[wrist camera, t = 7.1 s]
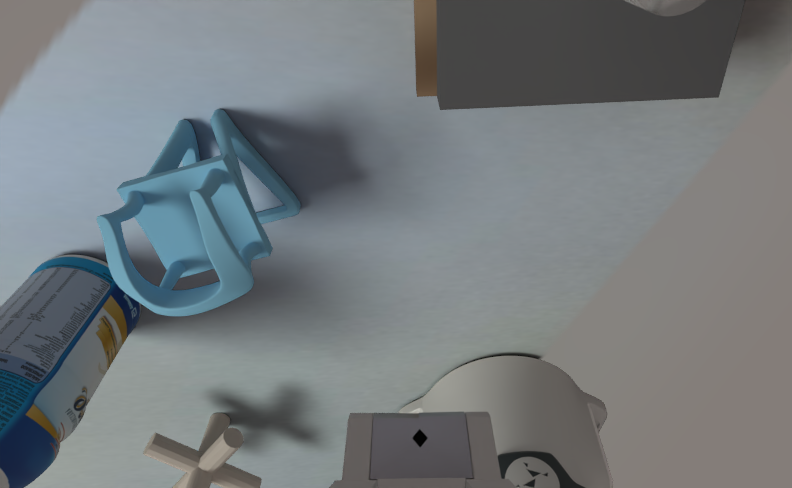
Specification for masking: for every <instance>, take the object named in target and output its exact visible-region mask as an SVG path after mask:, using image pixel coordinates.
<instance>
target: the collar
mask: <svg viewBox="0 0 792 488" xmlns="http://www.w3.org/2000/svg"><path fill="white" fill-rule="evenodd" d="M744 3H745V0H706V1H705V2H703V3H702V4H701V5H699V6H698V7H696V8H695V9H693V10H691V11H689V12H687V13H684V14H681V15H677V16H660V15H656V14H653V13H651V12H649V11H646V10H644V9H642V8H640V7H637V6H635V5H633V4H631V3H628V2H626V1H624V0H436V10H437V97H438V102H439V107H440V110H447V109H470V108H492V107H514V106H536V105H558V104H581V103H603V102H625V101H647V100H670V99H692V98H714V97H719V94H720V90H721V87H722V83H723V79H724V76H725V72H726V68H727V65H728V61H729V58H730V54H731V50H732V47H733V43H734V39H735V36H736V32H737V28H738V25H739V21H740V18H741V14H742V10H743V7H744Z"/></svg>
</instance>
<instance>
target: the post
mask: <svg viewBox="0 0 792 488" xmlns="http://www.w3.org/2000/svg"><path fill="white" fill-rule="evenodd" d="M624 1H626V2H628V3H631V4H633V5H635V6H637V7H640V8H642V9H644V10H646V11H649V12H651V13H653V14H656V15H660V16H677V15H681V14H684V13H687V12H689V11H691V10H693V9H695V8H696V7H698V6H699V5H701V4H702V3H703V2H705V1H706V0H624Z"/></svg>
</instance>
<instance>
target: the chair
mask: <svg viewBox="0 0 792 488" xmlns="http://www.w3.org/2000/svg"><path fill="white" fill-rule="evenodd" d="M211 126H212V129H213V132H214V135H215V137H216V140H217V143H218V146H219V149H220V153H221V155H220V156H216V157H213V158H209V159H206V160H202V161H200V156H199V149H198V144H197V139H196V135H195V132H194V129H193V127H192V125H191V123H190V122H189V121H187V120H180V121H179V122H178V124H177V126H176V128H175V130H174V131H173V133H172V135H171V136H170V138H169V140H168V142H167V143H166V145H165V147H164V148H163V150H162V152H161V153H160V155H159V157H158V158H157V160H156V161H155V163H154V165H153V166H152V168H151V169H150V171H149V172H148V173H147V175H146V176H145V177H141V178H137V179H134V180H130V181H126V182H123V183H122V184H121V185H120V186H119V187H118V188H117V191H118V192H119V194H120V196H121V197H122V199H123V201H124V202H125V205H124V206H123V207H122V208H120V209H119V210H117V211H114V212H112V213H109V214H105V215H100V216H98V217H97V222H98V225H99V228H100V230H101V233H102V237H103V241H104V246H105V252H106V257H107V262H108V266H109V270H110V272H111V275H112V277H113V279H114V281H115V282H116V284H117V285H118V286H119V287H120V288H121V289H122V290H123V291H124V292H125V293H126V294H128V295H129V296H130V297H132V298H133V299H135V300H136V301H138V302H139V303H141V304H142V305H144V306H145V307H147V308H148V309H149V310H151V311H153V312H154V313H157V314H160V315H166V316H189V315H195V314H199V313H202V312H206V311H209V310H211V309H214V308H217V307H219V306H221V305H224V304H226V303H228V302H230V301H232V300H234V299H236V298H238V297H240V296H242V295H244V294H246V293H247V292H248V291H250V290H251V289H252V287H253V285H254V279H253V276H252V271H251V260H255V259H259V258H263V257H267V256H270V254H271V251H272V249H273V248H272V246H271V243H270V241H269V239H268V237H267V235H266V233H265V231H264V229H263V227H262V226H261V224H264V223H268V222H272V221H276V220H279V219H283V218H287V217H291V216H295V215H297V214H298V213H299V211H300V207H301V206H300V202H299V200H298V198H297V197H296V196H295V194H294V193H293V192H292V190H291V189H290V188H289V187H288V186H287V185H286V184H285V182H284V181H283V180H282V179H281V178H280V177H279V176H278V174H277V173H276V172H275V171H274V170H273V169H272V168H271V167H270V165H269V164H268V163H267V162H266V161H265V160H264V159H263V158H262V157H261V155H260V154H259V153H258V152H257V151H256V150H255V149H254V148H253V146H252V145H251V144H250V143H249V142H248V141H247V139H246V138H245V137H244V136H243V135H242V133H241V132H240V131H239V130H238V128H237V127H236V126H235V124H234V123H233V122H232V120H231V119H230V118H229V116H228V115H227V113H226V112H225V111H224V110H221V109H217V110H215V112H214V114H213V116H212V118H211ZM236 156H237V157H238V158H239V159H240V160H241V161H242V162H243V163H244V164H245V165H246V166H247V167H248V168H249V169H250V170H251V171H252V172H253V173H254V174H255V175H256V176H257V177H258V178H259V179H260V180H261V181H262V182H263V183H264V184H265V185H266V186H267V187H268V188H269V189H270V190H271V191H272V192H273V193H274V194H275V195H276V196H277V197H278V198H279V199H280V201H281V202H282V203H283V204H284V206H280V207H277V208H273V209H269V210H265V211H261V212H257V213H256V212H255V210H254V207H253V205H252V202H251V200H250V197H249V194H248V191H247V188H246V185H245V182H244V179H243V176H242V173H241V169H240V166H239V163H238V160H237V157H236ZM181 161H182V162H183V167H180V168H178V166H179V164H180V162H181ZM133 217H135V219H136V220H137V222H138V223H139V225H140V226H141V227H142V229H143V231H144V232H145V234H146V236H147V237H148V239H149V240H150V242H151V244H152V245H153V247H154V249H155V251H156V253H157V254H158V256H159V258H160V260H161V262H162V263H163V265H164V267H165V268H166V270H167V271H166V273H165V275H164V278H163V280H162V282H161V284H160V286H159V287H158V286H155V285H153V284H151V283H150V282H148V281H147V280H146V279H144V278H143V277H142V276H141V275H140V274H139V272H138V271H137V270H136V268H135V267H134V265H133V263H132V261H131V259H130V257H129V254H128V251H127V248H126V245H125V241H124V238H123V233H122V228H121V223H120V222H123V221H126V220H128V219H131V218H133ZM211 269H215V270H216V272H217V274H218V276H219V279H220V281H218V282H215V283H212V284H209V285H206V286H202V287H198V288H193V289H187V290H172V289H173V288H174V286H175V284H176V283H177V281H178V280H179V278H182V277H186V276H190V275H194V274H197V273H201V272H204V271H208V270H211Z"/></svg>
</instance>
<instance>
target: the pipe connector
mask: <svg viewBox="0 0 792 488" xmlns="http://www.w3.org/2000/svg"><path fill="white" fill-rule="evenodd" d="M229 423H230V418H229V417H228V416H227V415H225V414H223V413H215V414H213V415H211V417H210V420H209V423H208V426H207V429H206V431H205V434H204V437H203V440H202V443H201V446H200V448H199V451H197V450H195V449H192V448H190V447H188V446H185V445H183V444H181V443H178V442H176V441H174V440H171V439H169V438H167V437H165V436H162V435H160V434H158V433H155V434H154V435H153V436H152V437H151V439H150V441H149V442H148V444H147V446H146V448H145V450H144V455H146V456H149V457H151V458H153V459H156V460H158V461H161V462H163V463H165V464H168V465H170V466H173V467H175V468H177V469H180V470H182V471H185V472H186V473H185V474H184V475H183V477H182V478H181V479H180V480H179V481H178V482H177V483H176V484H175V485H174V486H173V487H172V488H209V487H210V484H211V483H214V484H216V485H218V486H221V487H223V488H260V485H261V478H259V477H257V476H255V475H252V474H250V473H248V472H246V471H243V470H241V469H239V468H236V467H234V466H232V465H229V464H227V463H225V462H226V461H227V460H228V459H229V458H230V457H231V456H232V455H233V454H234V453H235V452H236V451H237V450H238V449H239V448H240V447H241V445H242V443H243V435H242V434H241V432H240V431H239V430H237V429H236V428H228V427H229Z"/></svg>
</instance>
